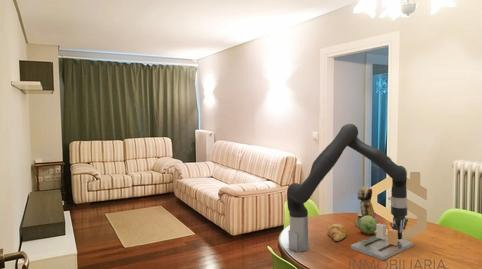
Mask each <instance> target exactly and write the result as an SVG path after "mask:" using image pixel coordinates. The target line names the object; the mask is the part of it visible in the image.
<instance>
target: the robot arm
mask: <svg viewBox="0 0 482 269" xmlns="http://www.w3.org/2000/svg"><path fill="white" fill-rule="evenodd" d="M358 135H359V130H358V127H357V125H356V124H353V123H348V124H347V123H346V124H345V125H344V124H343V125H342V127H341V128H340V130H339V131H338V133H337V134H336V136H335V137H334V139H333V140H332V141H331V142H330V143H329V144H328V145H327V146H326V147H325V148H324V149H323V150H322V151H321V153H319V155H318V156H317V157H316V159H315V160H313V162H312V164H311V168H310V173H309V175H308V176H307V178H306V179H304V181H302V183H301V184H300V183H298V182H293V183H290V184H289V185H288V186H287V187H288V188H287V190H286V199H287V200H286V203H287V210H288V212H289V214H288V215H289V230H288V249H289V250H291V249H292V251H294V252H296V253H299V252H306V251H308V250H309V244H310V242H309V215H308V214H309V212H308V208H307V207H306V206H305V203H307V202H308V201H309V200H310V199H311V197H312V196H313V194H314V193H315V190H317V188H318V186H319V185H320V184H321V182H322V181H323V180H324V179H325V177H326V175H328V174H329V173H330V171H331V170H332V169H333V168H334V166H335V165H336V163H337V162H338V161H339V159H340V158H341V155H342V154H343V152H344V151H345V150H346V148H347V147H349V148H351V149H353V150H354V151H356V152H357V153H359V154H360V155H362V156H364V157H365V158H366V159H368V160H369V161H370V162H372V163H373V164H374V165H376V166H377V167H378V168H380V169H381V170H382V171H383V172H384V173H385V174H387V176H389V178H391V182H392V184H391V192H390V193H391V199H390V214H391V215H392V216H393V217H392V222H390V223H389V225H390V227H391V229H394V230H398V239H399V240H400V239H403V231H404V230H406V227H407V224H408V221H409V219H407V218H406V217H407V216H408V196H407V195H408V194H407V193H408V192H407V191H408V189H407V178H408V177H407V176H408V172H407V169H406V168H405V166H402V165H398V164H396V163H395V162H394V161H393V160H392V159H391V158H390V156H388V155H387V154H386V153H384V152H383V151H381V150H380V149H378V148H376V147H373V146H372V145H368V144H367V143H365V142H363V141H362V140H361V139H360V138H359V137H358Z"/></svg>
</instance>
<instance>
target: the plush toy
mask: <svg viewBox="0 0 482 269" xmlns="http://www.w3.org/2000/svg"><path fill="white" fill-rule="evenodd" d="M357 191H358V192H357V193H356V194H357V199H358V200H360V204H359V205H360V206H359V210H357V213H356V215H357V218H356V221H355V224H354V225H355V227H357V228H359V221H360V219H361V218H362V217H364V216H371V217H373V218H374V219H375V220H376V218H375V217H376V213H375V210H374V207H373V206H374V205H373V203H372V201H371V200H372V197H373V189H372V188H369V187H367V186H361V187H360V188H359V189H358V190H357Z"/></svg>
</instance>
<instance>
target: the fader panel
mask: <svg viewBox="0 0 482 269" xmlns="http://www.w3.org/2000/svg"><path fill="white" fill-rule="evenodd" d="M413 246H414V242H412V241H409V240H406V239H403V238H402V239H400V240H399V239H398V244H397V245H392V244H389V243H388V237H387V234H386V239H380V238H377V237H376V234H374V235H372V236H370V237H368V238H365V239H363V240H360V241H357V242H355V243H353V244H350V250H353V251H356V252H358V253H361V254H365V255H367V256H370V257H373V258H375V259H378V260H381V261H385V259H386V260H387V258H388V259H390V258H392V257H393V255H394V256H396V255H397V253H398V254H400V253H402V252H403V251H406V250H408V249H411V248H412V247H413ZM395 254H396V255H395ZM391 256H392V257H391ZM389 257H390V258H389Z"/></svg>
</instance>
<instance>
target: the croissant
mask: <svg viewBox="0 0 482 269" xmlns="http://www.w3.org/2000/svg"><path fill="white" fill-rule="evenodd" d="M326 231H327V233H328V235H329V236H330V237H331V238H332V239H333V240H334V242H339V241H342V240H343V239H345V238H346V237H347V229H346V227H345V225H343V224H342V223H340V222H336V223H331V225H329V226H328V228H327V229H326Z"/></svg>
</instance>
